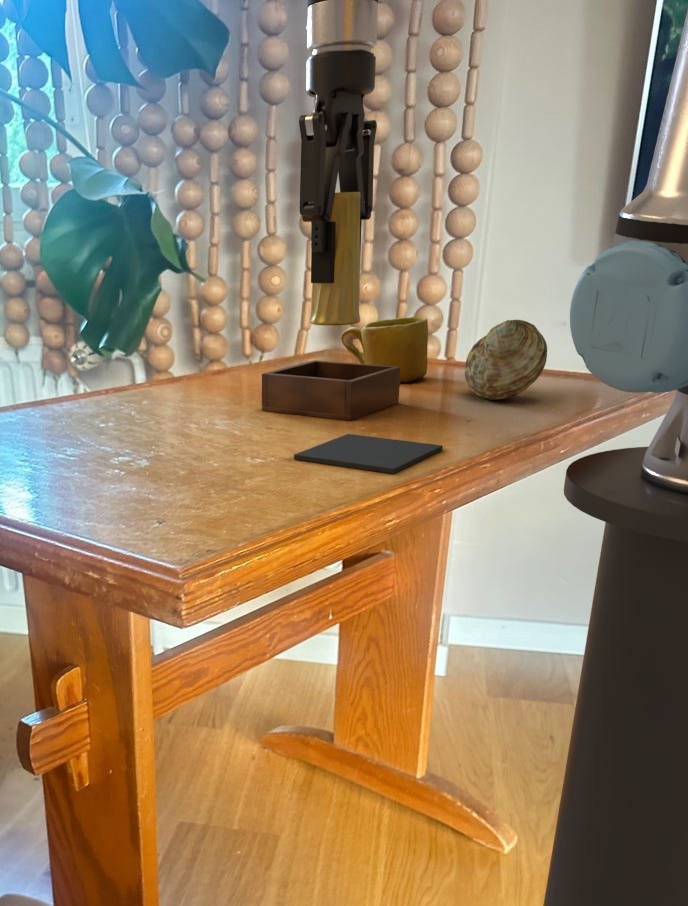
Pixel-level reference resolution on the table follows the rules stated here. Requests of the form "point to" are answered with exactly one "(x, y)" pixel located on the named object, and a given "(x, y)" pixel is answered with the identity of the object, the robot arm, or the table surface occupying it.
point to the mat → (369, 453)
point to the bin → (331, 389)
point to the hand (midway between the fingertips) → (335, 280)
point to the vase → (341, 267)
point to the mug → (392, 345)
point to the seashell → (506, 360)
